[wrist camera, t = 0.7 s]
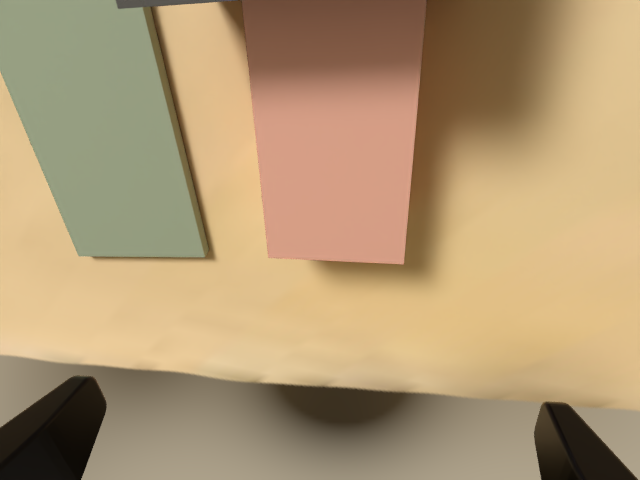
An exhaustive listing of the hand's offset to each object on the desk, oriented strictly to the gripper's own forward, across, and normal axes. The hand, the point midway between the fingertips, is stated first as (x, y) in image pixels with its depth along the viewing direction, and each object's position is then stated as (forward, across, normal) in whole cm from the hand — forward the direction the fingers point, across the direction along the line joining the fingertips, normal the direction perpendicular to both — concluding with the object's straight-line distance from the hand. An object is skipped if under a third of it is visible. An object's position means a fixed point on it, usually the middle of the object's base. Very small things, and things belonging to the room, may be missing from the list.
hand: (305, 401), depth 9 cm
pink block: (+12, 0, -4) cm, 13 cm away
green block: (+12, +10, -3) cm, 16 cm away
